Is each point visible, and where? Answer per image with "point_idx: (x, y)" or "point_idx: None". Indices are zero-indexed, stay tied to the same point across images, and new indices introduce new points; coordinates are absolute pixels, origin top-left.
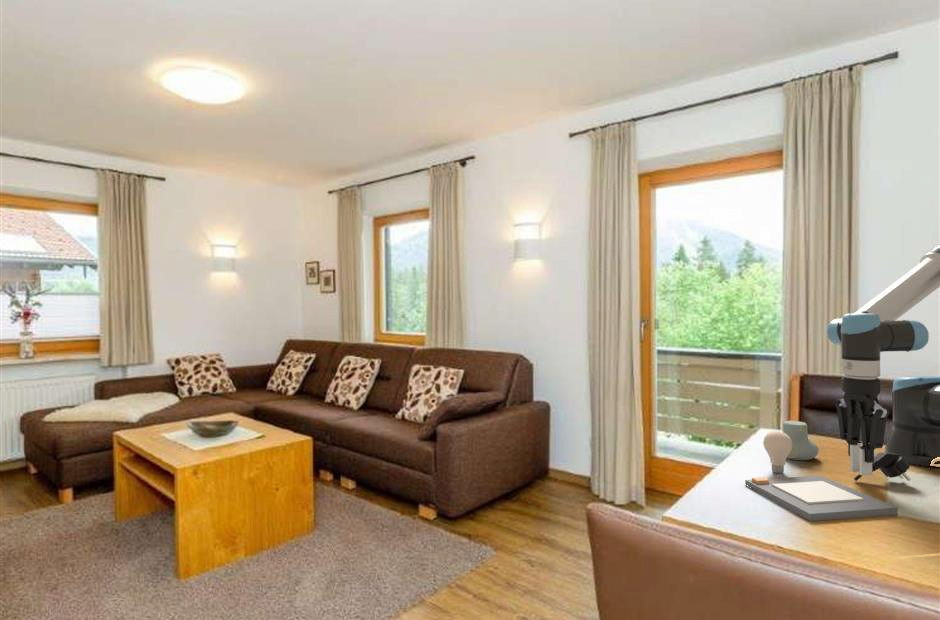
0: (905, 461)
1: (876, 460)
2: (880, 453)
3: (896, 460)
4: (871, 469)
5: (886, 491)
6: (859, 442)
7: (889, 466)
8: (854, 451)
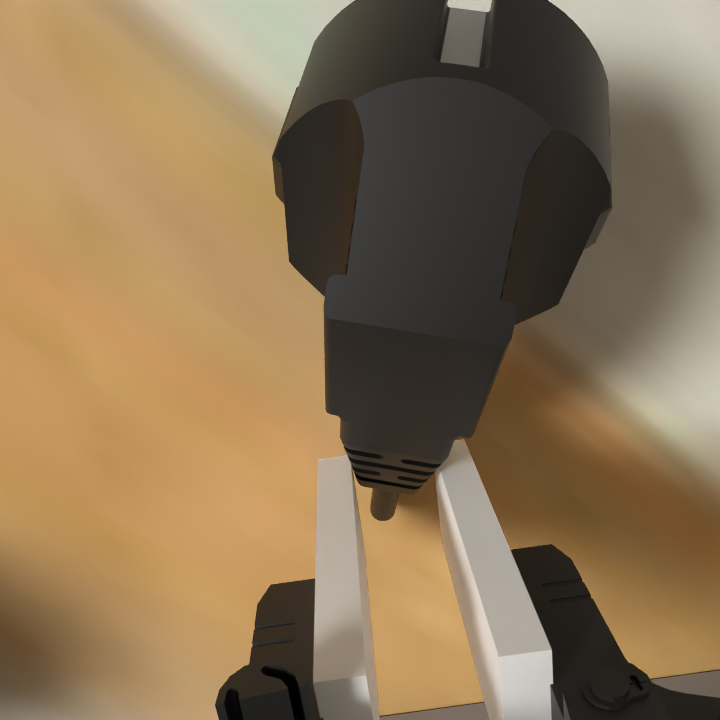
0: (588, 91)
1: (448, 429)
2: (372, 340)
3: (552, 219)
4: (477, 476)
5: (617, 403)
6: (313, 714)
7: (526, 307)
8: (378, 708)
